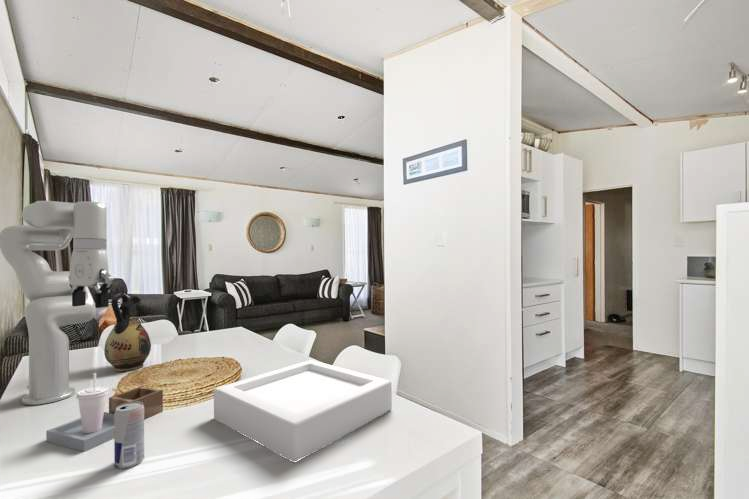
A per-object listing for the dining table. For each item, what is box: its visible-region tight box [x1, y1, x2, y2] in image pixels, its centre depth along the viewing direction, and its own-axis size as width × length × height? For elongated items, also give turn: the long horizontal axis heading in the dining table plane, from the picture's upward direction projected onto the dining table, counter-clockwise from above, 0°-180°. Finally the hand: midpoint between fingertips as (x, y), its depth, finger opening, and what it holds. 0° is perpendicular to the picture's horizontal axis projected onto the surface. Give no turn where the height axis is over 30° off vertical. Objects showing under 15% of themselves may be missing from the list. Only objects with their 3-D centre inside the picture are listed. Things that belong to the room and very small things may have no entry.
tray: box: [213, 359, 393, 461], centre depth 103 cm, size 35×35×9 cm
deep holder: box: [108, 386, 164, 421], centre depth 103 cm, size 9×9×6 cm
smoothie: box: [75, 372, 109, 433], centre depth 93 cm, size 6×6×14 cm
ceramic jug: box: [103, 293, 152, 372], centre depth 146 cm, size 17×15×30 cm
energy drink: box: [113, 402, 145, 470], centre depth 80 cm, size 5×5×12 cm
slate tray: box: [45, 411, 114, 452], centre depth 92 cm, size 14×12×2 cm
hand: (90, 306), depth 104 cm, fingers open, 9 cm apart
